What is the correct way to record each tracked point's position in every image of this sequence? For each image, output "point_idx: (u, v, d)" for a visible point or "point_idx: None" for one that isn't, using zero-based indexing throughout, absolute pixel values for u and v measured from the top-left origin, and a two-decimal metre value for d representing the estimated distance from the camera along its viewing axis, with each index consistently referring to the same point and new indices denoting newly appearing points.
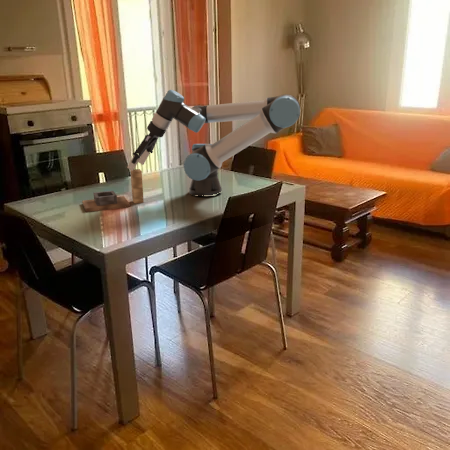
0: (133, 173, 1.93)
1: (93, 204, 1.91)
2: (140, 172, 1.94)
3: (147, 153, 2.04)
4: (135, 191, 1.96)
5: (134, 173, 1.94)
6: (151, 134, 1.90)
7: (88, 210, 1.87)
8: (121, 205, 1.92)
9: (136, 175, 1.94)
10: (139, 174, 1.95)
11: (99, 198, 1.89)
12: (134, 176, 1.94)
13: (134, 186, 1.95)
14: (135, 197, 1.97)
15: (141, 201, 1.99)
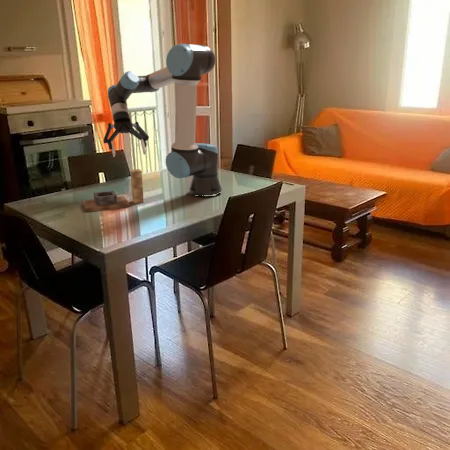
0: (133, 173, 1.93)
1: (93, 204, 1.91)
2: (140, 172, 1.94)
3: (141, 141, 2.07)
4: (135, 191, 1.96)
5: (134, 173, 1.94)
6: (114, 123, 2.08)
7: (88, 210, 1.87)
8: (121, 205, 1.92)
9: (136, 175, 1.94)
10: (139, 174, 1.95)
11: (99, 198, 1.89)
12: (134, 176, 1.94)
13: (134, 186, 1.95)
14: (135, 197, 1.97)
15: (141, 201, 1.99)
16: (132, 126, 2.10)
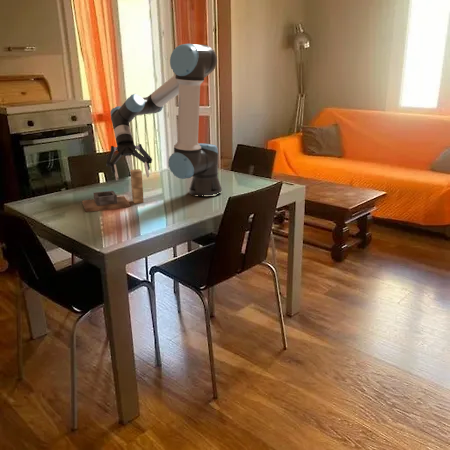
0: (133, 173, 1.93)
1: (93, 204, 1.91)
2: (140, 172, 1.94)
3: (144, 164, 2.04)
4: (135, 191, 1.96)
5: (134, 173, 1.94)
6: (117, 145, 2.05)
7: (88, 210, 1.87)
8: (121, 205, 1.92)
9: (136, 175, 1.94)
10: (139, 174, 1.95)
11: (99, 198, 1.89)
12: (134, 176, 1.94)
13: (134, 186, 1.95)
14: (135, 197, 1.97)
15: (141, 201, 1.99)
16: (135, 148, 2.07)
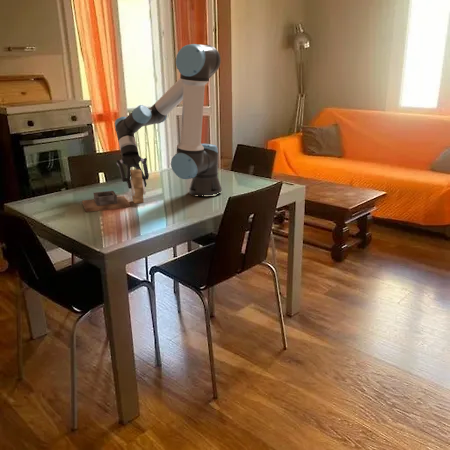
0: (133, 173, 1.93)
1: (93, 204, 1.91)
2: (140, 172, 1.94)
3: None
4: (135, 191, 1.96)
5: (134, 173, 1.94)
6: (122, 157, 2.01)
7: (88, 210, 1.87)
8: (121, 205, 1.92)
9: (136, 175, 1.94)
10: (139, 174, 1.95)
11: (99, 198, 1.89)
12: (134, 176, 1.94)
13: (134, 186, 1.95)
14: (135, 197, 1.97)
15: (141, 201, 1.99)
16: (140, 160, 2.03)
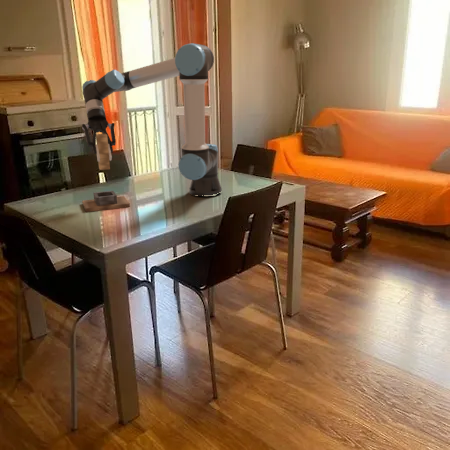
0: (98, 137, 1.84)
1: (93, 204, 1.91)
2: (106, 136, 1.85)
3: None
4: (100, 157, 1.87)
5: (99, 137, 1.84)
6: (88, 121, 1.91)
7: (88, 210, 1.87)
8: (121, 205, 1.92)
9: (101, 139, 1.84)
10: (104, 138, 1.85)
11: (99, 198, 1.89)
12: (99, 140, 1.84)
13: (99, 151, 1.86)
14: (101, 163, 1.87)
15: (107, 168, 1.89)
16: (107, 126, 1.94)
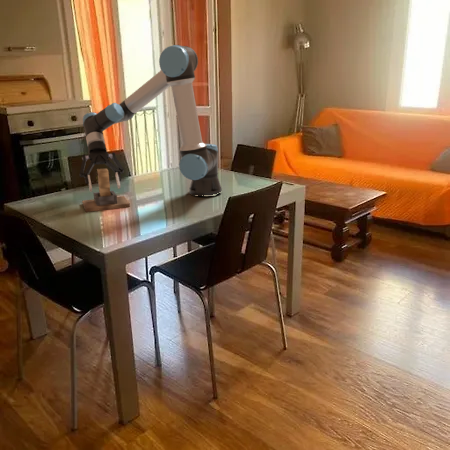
0: (99, 172, 1.88)
1: (93, 204, 1.91)
2: (107, 171, 1.89)
3: None
4: (102, 191, 1.91)
5: (100, 172, 1.88)
6: (89, 153, 1.95)
7: (88, 210, 1.87)
8: (121, 205, 1.92)
9: (102, 174, 1.89)
10: (106, 173, 1.89)
11: (99, 198, 1.89)
12: (100, 176, 1.88)
13: (101, 186, 1.90)
14: None
15: None
16: None
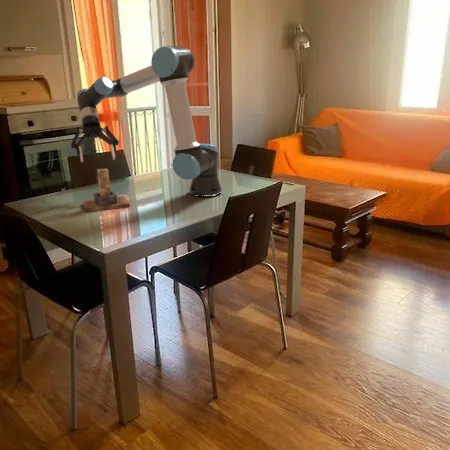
0: (99, 172, 1.88)
1: (93, 204, 1.91)
2: (107, 171, 1.89)
3: (111, 146, 2.02)
4: (102, 191, 1.91)
5: (100, 172, 1.88)
6: (83, 127, 2.03)
7: (88, 210, 1.87)
8: (121, 205, 1.92)
9: (102, 174, 1.89)
10: (106, 173, 1.89)
11: (99, 198, 1.89)
12: (100, 176, 1.88)
13: (101, 186, 1.90)
14: None
15: None
16: None
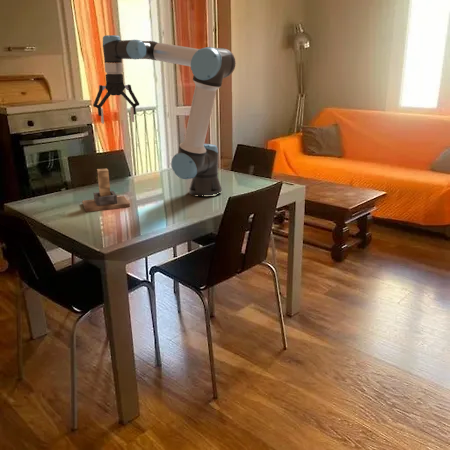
0: (99, 172, 1.88)
1: (93, 204, 1.91)
2: (107, 171, 1.89)
3: (131, 108, 2.08)
4: (102, 191, 1.91)
5: (100, 172, 1.88)
6: (106, 83, 2.01)
7: (88, 210, 1.87)
8: (121, 205, 1.92)
9: (102, 174, 1.89)
10: (106, 173, 1.89)
11: (99, 198, 1.89)
12: (100, 176, 1.88)
13: (101, 186, 1.90)
14: None
15: None
16: (124, 87, 2.04)
